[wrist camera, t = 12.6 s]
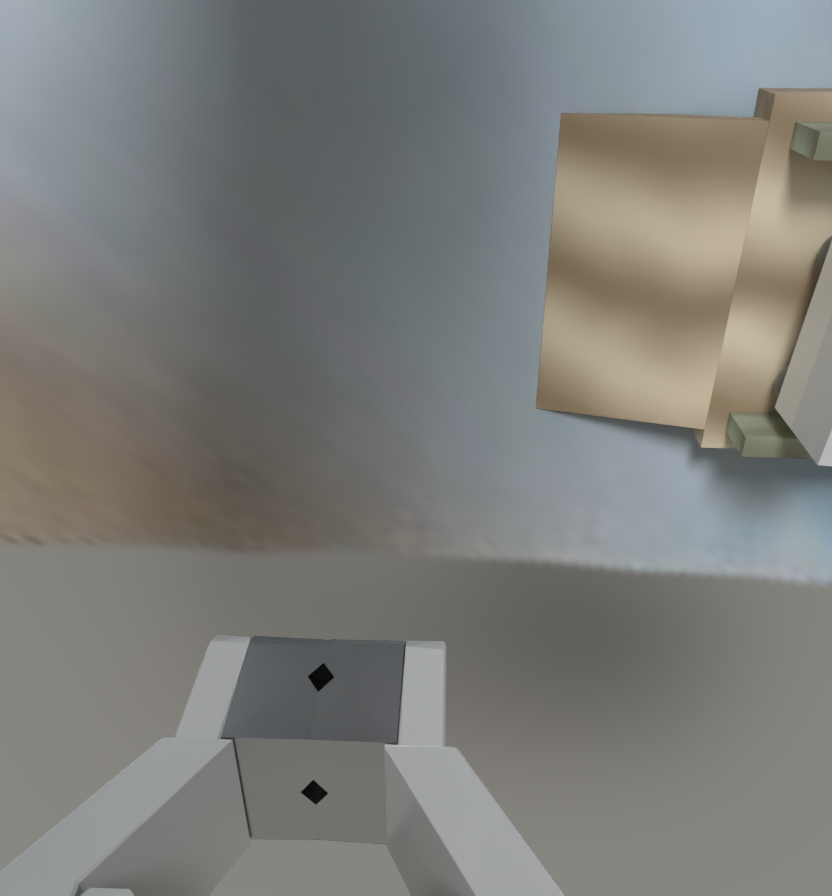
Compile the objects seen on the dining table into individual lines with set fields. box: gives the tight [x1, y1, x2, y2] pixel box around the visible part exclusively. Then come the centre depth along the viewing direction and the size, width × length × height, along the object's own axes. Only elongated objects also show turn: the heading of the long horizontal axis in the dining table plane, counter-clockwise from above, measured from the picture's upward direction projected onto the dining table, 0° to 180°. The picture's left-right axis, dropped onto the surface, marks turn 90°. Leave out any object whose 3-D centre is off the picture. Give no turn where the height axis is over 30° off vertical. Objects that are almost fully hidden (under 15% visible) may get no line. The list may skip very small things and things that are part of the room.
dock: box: [536, 88, 832, 458], centre depth 35 cm, size 16×23×5 cm
